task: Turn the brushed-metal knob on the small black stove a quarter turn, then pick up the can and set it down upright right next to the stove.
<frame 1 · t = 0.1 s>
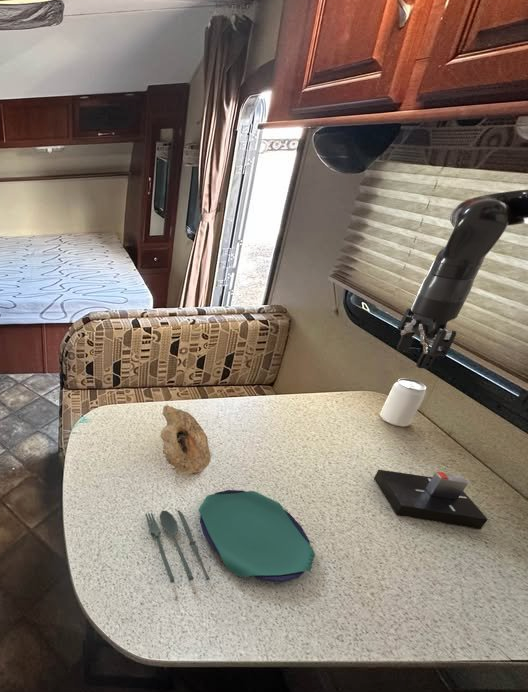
hand: (411, 358, 89), 23 cm above the table, tool pointing down, fingers open, 8 cm apart
can: (394, 420, 103), on the table
brown hollow rock: (183, 452, 96), on the table
stove knob: (446, 485, 77), point 6 cm above the table, hinge at 0.0°
stove: (423, 502, 80), on the table
cutlery set: (226, 538, 75), on the table
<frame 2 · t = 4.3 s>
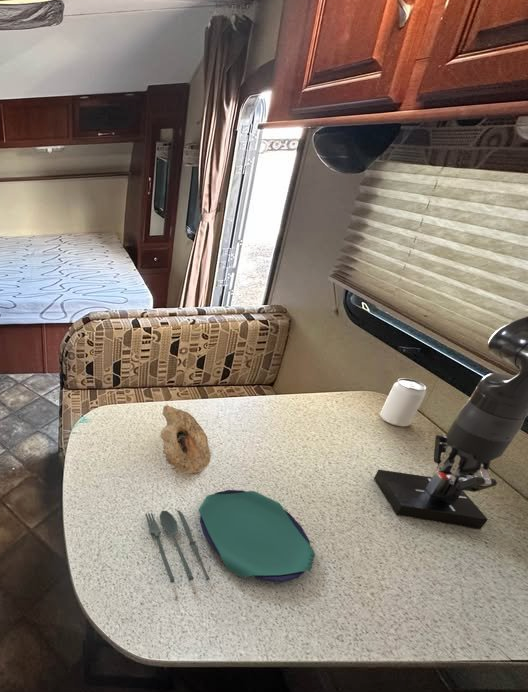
hand: (442, 490, 77), 4 cm above the table, tool pointing down, fingers closed on stove knob, 2 cm apart
stove knob: (446, 485, 77), point 6 cm above the table, hinge at 0.0°, touching gripper
everything else where it was.
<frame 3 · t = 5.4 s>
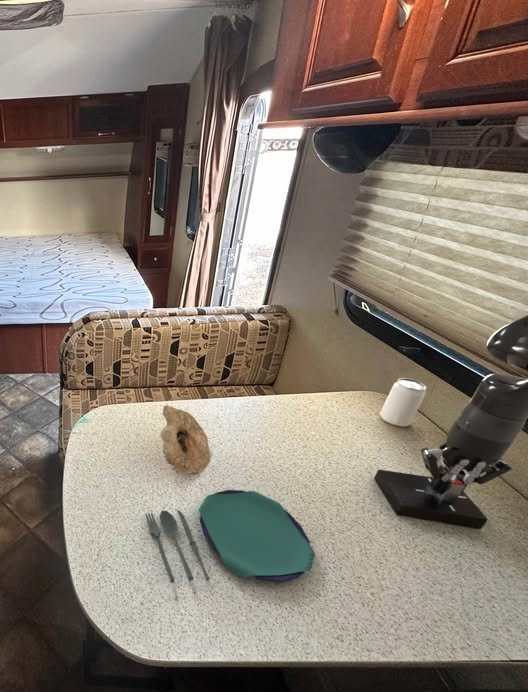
hand: (443, 491, 77), 4 cm above the table, tool pointing down, fingers closed on stove knob, 2 cm apart
stove knob: (446, 485, 77), point 6 cm above the table, hinge at 89.6°, touching gripper
everything else where it was.
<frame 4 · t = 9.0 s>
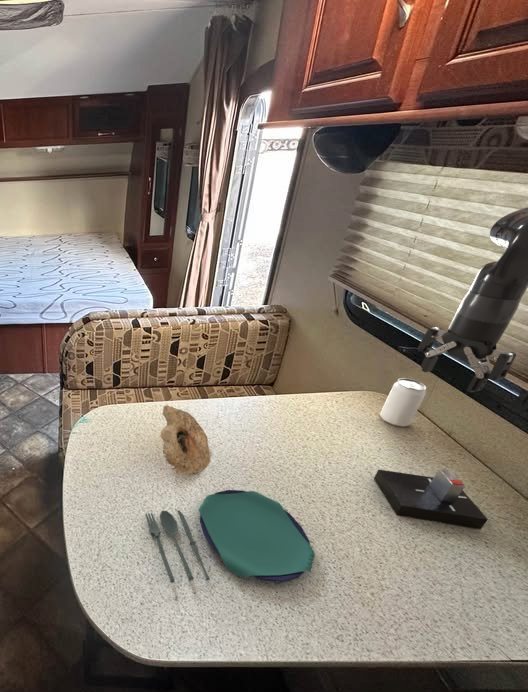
hand: (447, 380, 83), 21 cm above the table, tool pointing down, fingers open, 8 cm apart
stove knob: (446, 485, 77), point 6 cm above the table, hinge at 89.1°
everything else where it was.
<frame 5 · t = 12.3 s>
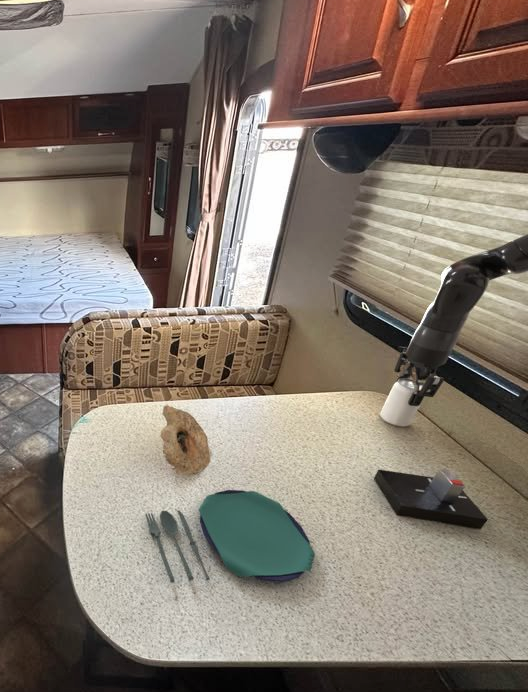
hand: (405, 397, 100), 8 cm above the table, tool pointing down, fingers closed on can, 6 cm apart
can: (394, 420, 103), on the table, touching gripper
everything else where it was.
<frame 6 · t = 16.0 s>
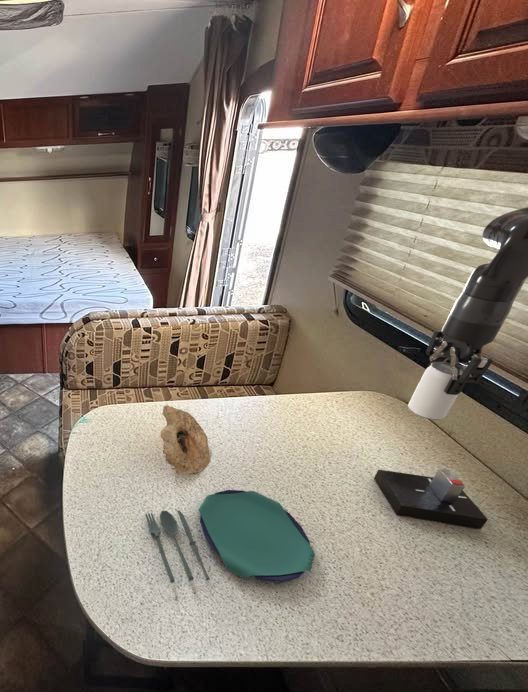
hand: (440, 384, 83), 21 cm above the table, tool pointing down, fingers closed on can, 6 cm apart
can: (425, 412, 86), point 13 cm above the table, touching gripper
everything else where it was.
when the fingers open (8 cm above the table, at t = 19.6 s): can stays where it is, on the table.
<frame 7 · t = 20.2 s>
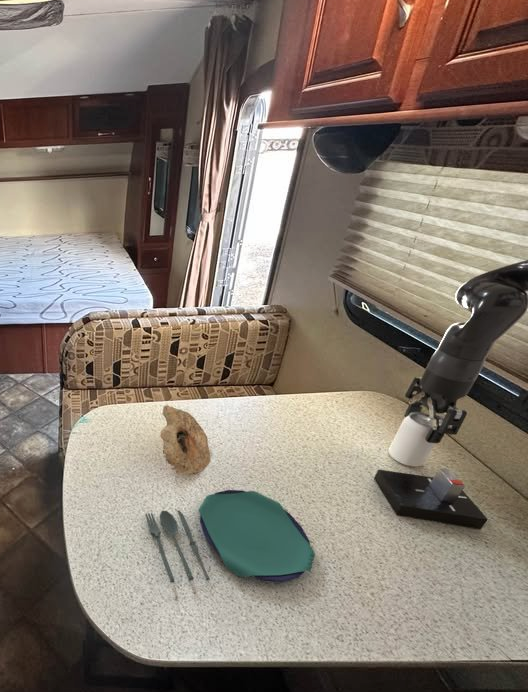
hand: (419, 429, 87), 9 cm above the table, tool pointing down, fingers open, 8 cm apart
can: (404, 458, 91), on the table
everything else where it was.
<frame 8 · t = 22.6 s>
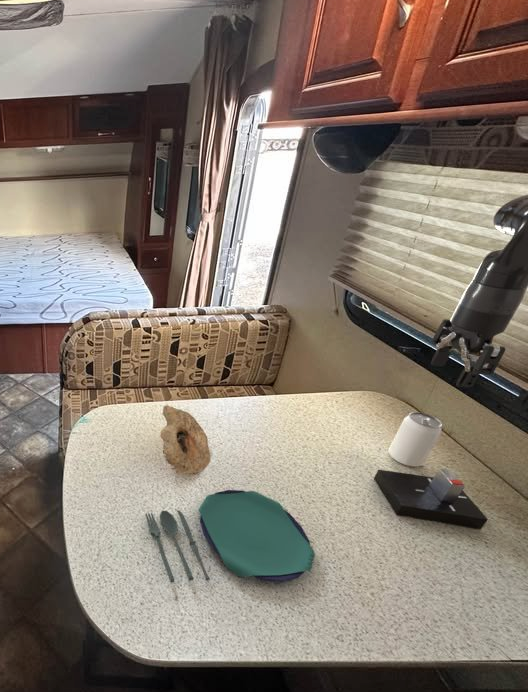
hand: (449, 375, 80), 24 cm above the table, tool pointing down, fingers open, 8 cm apart
nothing on the table moved.
at the end: stove knob at +89° (first picture: +0°); can inside the target area on the table beside the stove (0.1 cm from its centre), on the table; can tilted 0° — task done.
